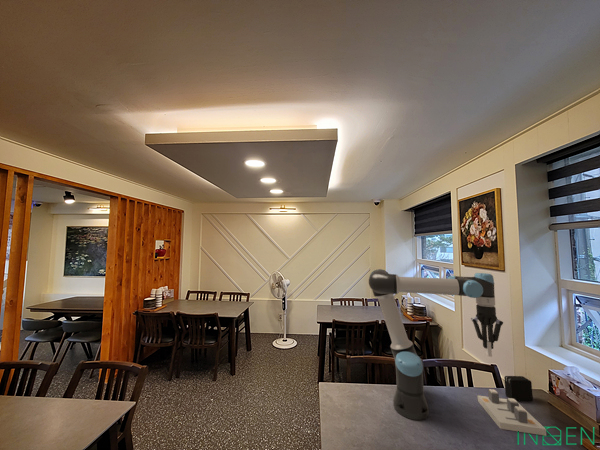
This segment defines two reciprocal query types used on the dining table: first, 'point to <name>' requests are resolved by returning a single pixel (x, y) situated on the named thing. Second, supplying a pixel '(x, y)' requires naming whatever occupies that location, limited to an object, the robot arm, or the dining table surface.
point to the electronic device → (518, 388)
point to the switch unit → (510, 417)
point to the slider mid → (511, 404)
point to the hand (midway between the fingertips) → (488, 355)
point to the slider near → (520, 414)
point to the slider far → (493, 396)
